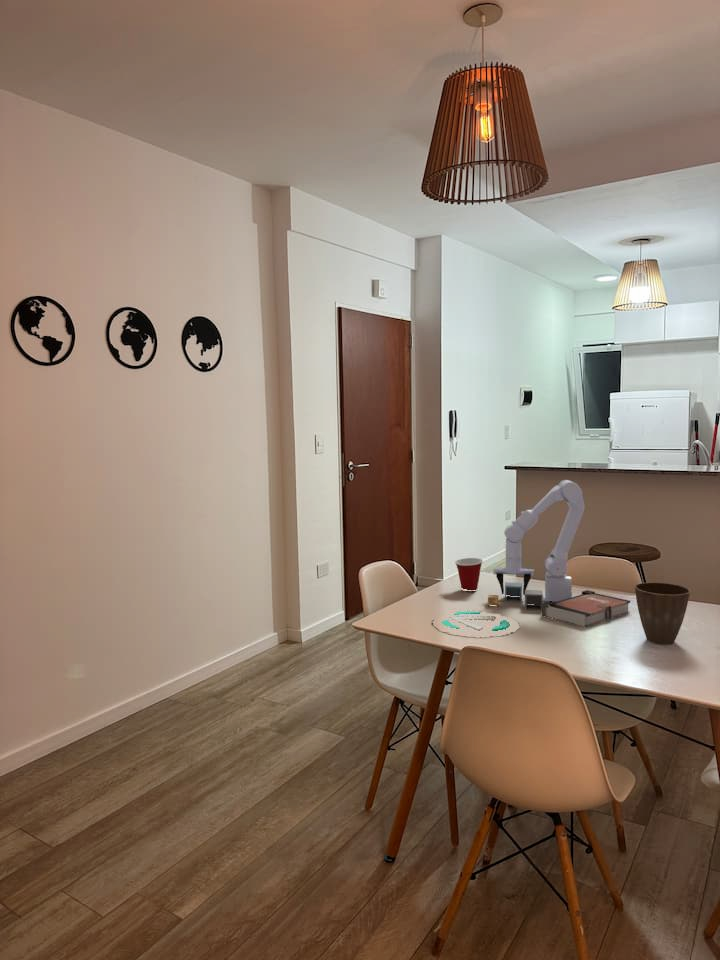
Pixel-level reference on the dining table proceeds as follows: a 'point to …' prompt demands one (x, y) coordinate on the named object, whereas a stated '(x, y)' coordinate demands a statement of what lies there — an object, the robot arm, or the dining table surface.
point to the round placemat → (503, 624)
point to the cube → (493, 600)
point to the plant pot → (661, 610)
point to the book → (586, 609)
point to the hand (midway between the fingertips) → (513, 593)
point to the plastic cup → (469, 572)
